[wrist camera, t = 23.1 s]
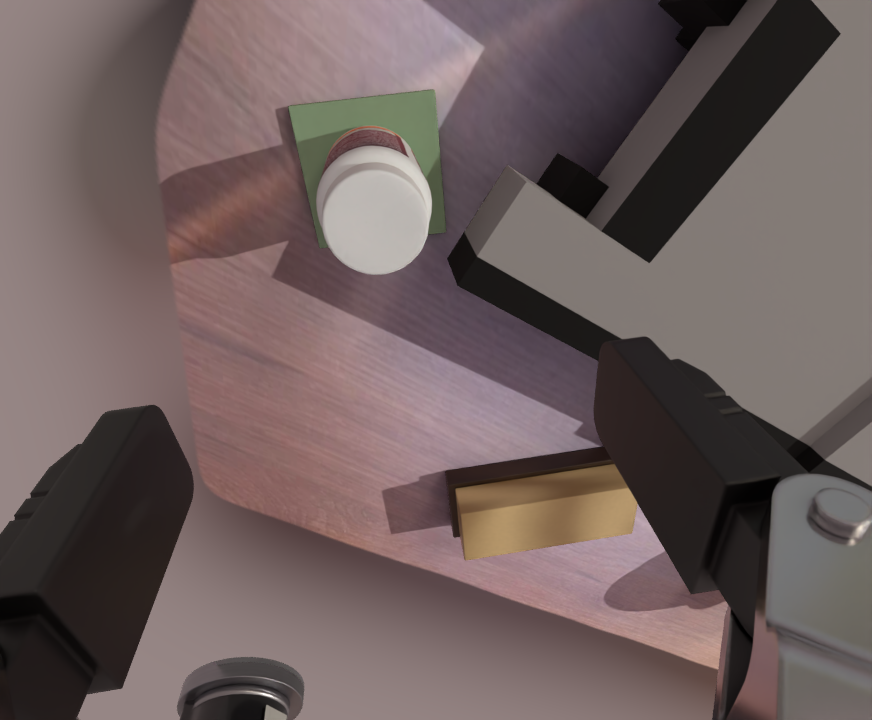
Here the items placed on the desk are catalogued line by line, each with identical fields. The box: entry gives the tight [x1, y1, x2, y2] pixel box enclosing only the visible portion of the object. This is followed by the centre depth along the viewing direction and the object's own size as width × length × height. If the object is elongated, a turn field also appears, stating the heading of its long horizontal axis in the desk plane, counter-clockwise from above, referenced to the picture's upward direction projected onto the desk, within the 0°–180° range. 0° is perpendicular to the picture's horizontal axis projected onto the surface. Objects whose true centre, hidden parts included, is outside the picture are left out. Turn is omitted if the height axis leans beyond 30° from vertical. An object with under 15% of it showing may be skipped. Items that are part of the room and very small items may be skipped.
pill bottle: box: [316, 126, 432, 275], centre depth 22 cm, size 5×5×8 cm
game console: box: [447, 0, 872, 492], centre depth 27 cm, size 21×32×8 cm, turn 58°
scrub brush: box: [445, 447, 638, 560], centre depth 39 cm, size 22×6×4 cm, turn 95°
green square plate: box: [288, 89, 446, 248], centre depth 26 cm, size 7×7×1 cm
